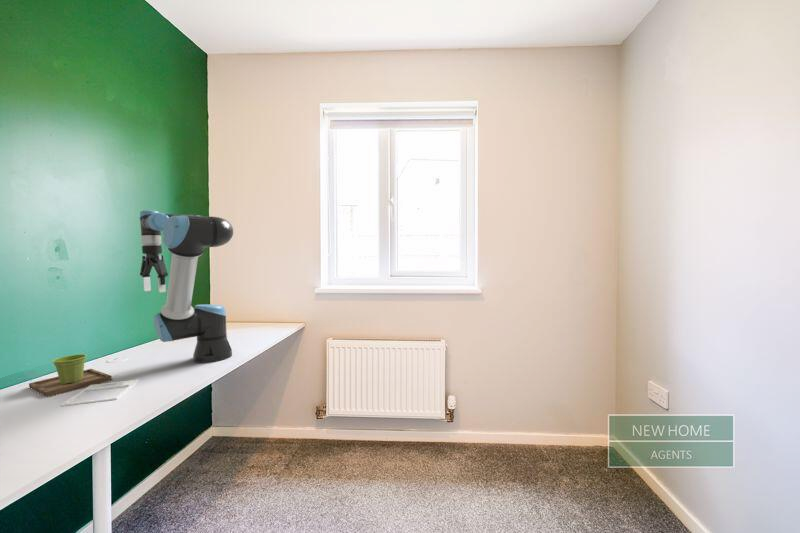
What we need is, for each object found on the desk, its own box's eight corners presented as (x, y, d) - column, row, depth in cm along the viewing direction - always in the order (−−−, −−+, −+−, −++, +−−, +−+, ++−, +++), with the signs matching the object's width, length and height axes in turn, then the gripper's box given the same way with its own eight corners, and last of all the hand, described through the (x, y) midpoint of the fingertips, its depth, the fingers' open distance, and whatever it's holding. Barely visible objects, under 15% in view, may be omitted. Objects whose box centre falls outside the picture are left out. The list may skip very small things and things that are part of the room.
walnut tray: (111, 380, 139) (111, 375, 139) (47, 397, 124) (46, 392, 124) (91, 372, 148) (91, 368, 148) (29, 387, 133) (28, 383, 133)
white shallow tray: (138, 379, 137) (116, 397, 120) (138, 382, 137) (116, 400, 120) (90, 384, 133) (60, 404, 116) (90, 387, 133) (61, 407, 116)
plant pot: (47, 385, 133) (45, 360, 132) (76, 376, 142) (75, 353, 142) (66, 387, 130) (64, 362, 130) (94, 378, 139) (93, 354, 139)
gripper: (174, 244, 168) (177, 291, 169) (147, 245, 181) (150, 289, 182) (156, 244, 162) (159, 293, 163) (129, 245, 175) (132, 291, 176)
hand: (154, 291), depth 172 cm, fingers open, 13 cm apart
